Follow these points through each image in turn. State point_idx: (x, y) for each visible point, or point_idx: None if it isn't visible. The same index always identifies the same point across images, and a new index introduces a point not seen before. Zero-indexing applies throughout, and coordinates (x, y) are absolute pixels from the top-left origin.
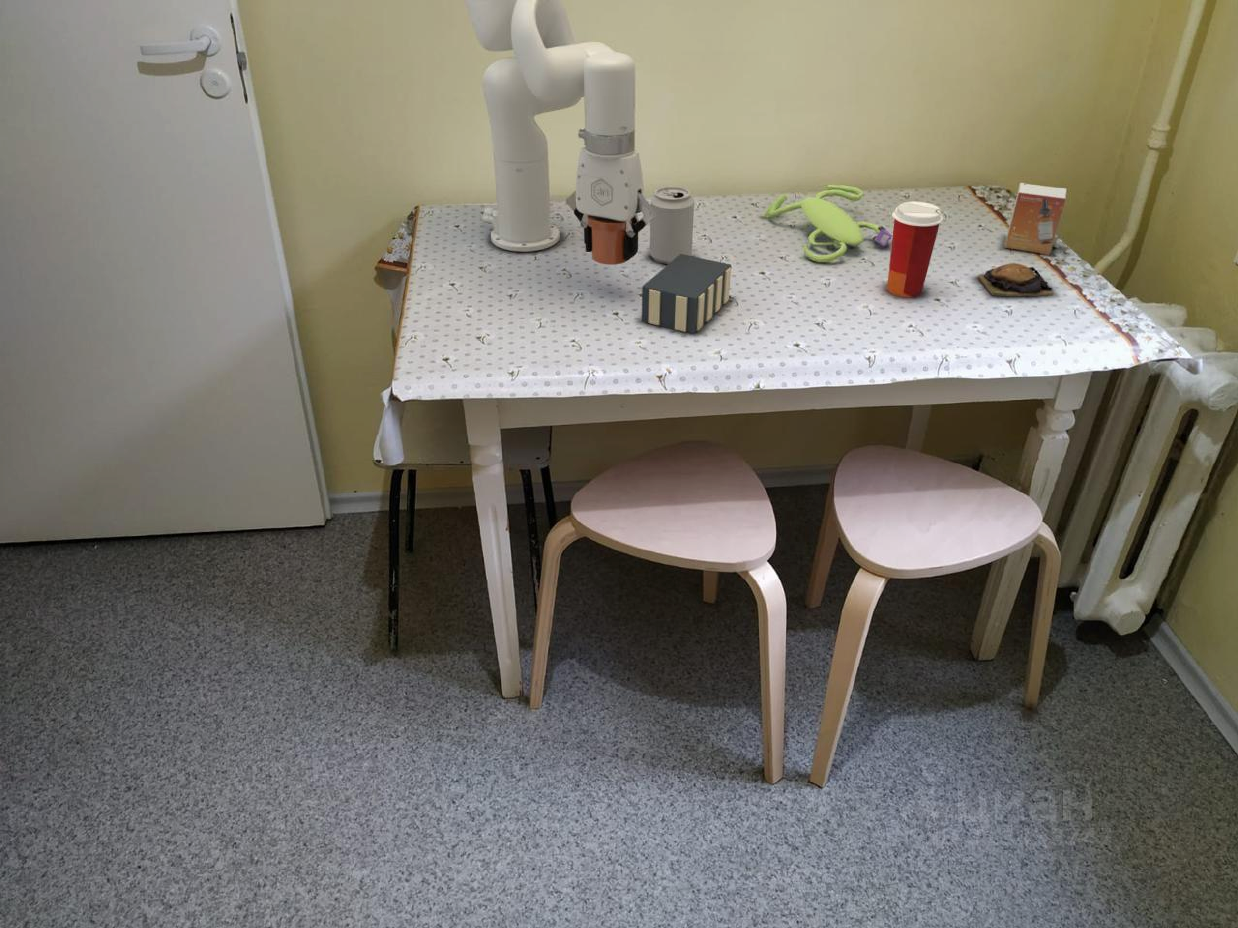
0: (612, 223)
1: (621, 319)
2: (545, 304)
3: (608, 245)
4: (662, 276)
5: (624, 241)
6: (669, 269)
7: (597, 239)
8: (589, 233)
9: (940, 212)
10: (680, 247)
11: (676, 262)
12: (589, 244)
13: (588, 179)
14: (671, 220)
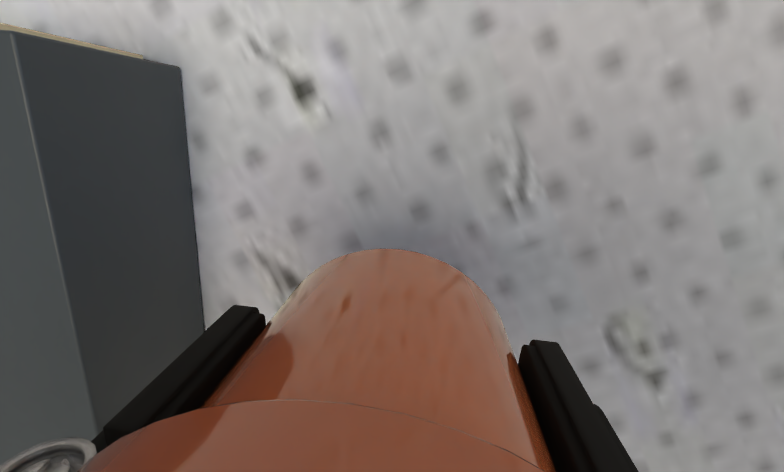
0: None
1: (260, 51)
2: (640, 41)
3: (313, 318)
4: (10, 220)
5: (181, 398)
6: (40, 316)
7: (432, 353)
8: (576, 462)
9: None
10: None
11: (64, 400)
12: (543, 380)
13: None
14: None
